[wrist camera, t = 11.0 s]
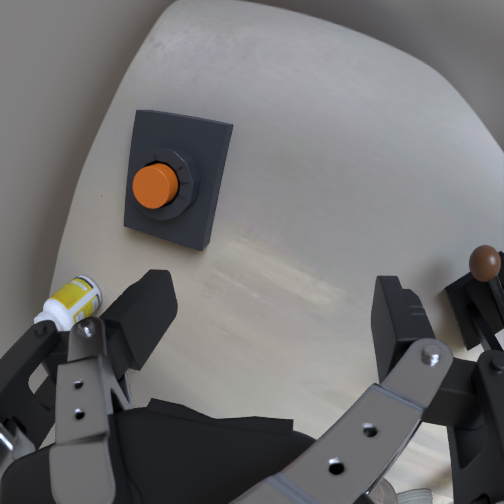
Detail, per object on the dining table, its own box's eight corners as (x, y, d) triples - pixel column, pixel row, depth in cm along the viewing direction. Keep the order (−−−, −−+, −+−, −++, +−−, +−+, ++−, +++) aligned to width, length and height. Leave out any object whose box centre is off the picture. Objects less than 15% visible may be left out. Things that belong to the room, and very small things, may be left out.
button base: (148, 109, 27) (125, 110, 23) (233, 124, 26) (219, 125, 22) (134, 219, 32) (113, 232, 28) (209, 242, 31) (194, 259, 27)
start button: (145, 159, 25) (134, 163, 23) (181, 168, 25) (172, 171, 23) (140, 197, 26) (130, 203, 25) (175, 207, 26) (166, 213, 25)
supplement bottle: (69, 278, 38) (24, 313, 30) (90, 270, 37) (42, 309, 28) (86, 309, 40) (46, 348, 31) (109, 305, 38) (67, 348, 30)
